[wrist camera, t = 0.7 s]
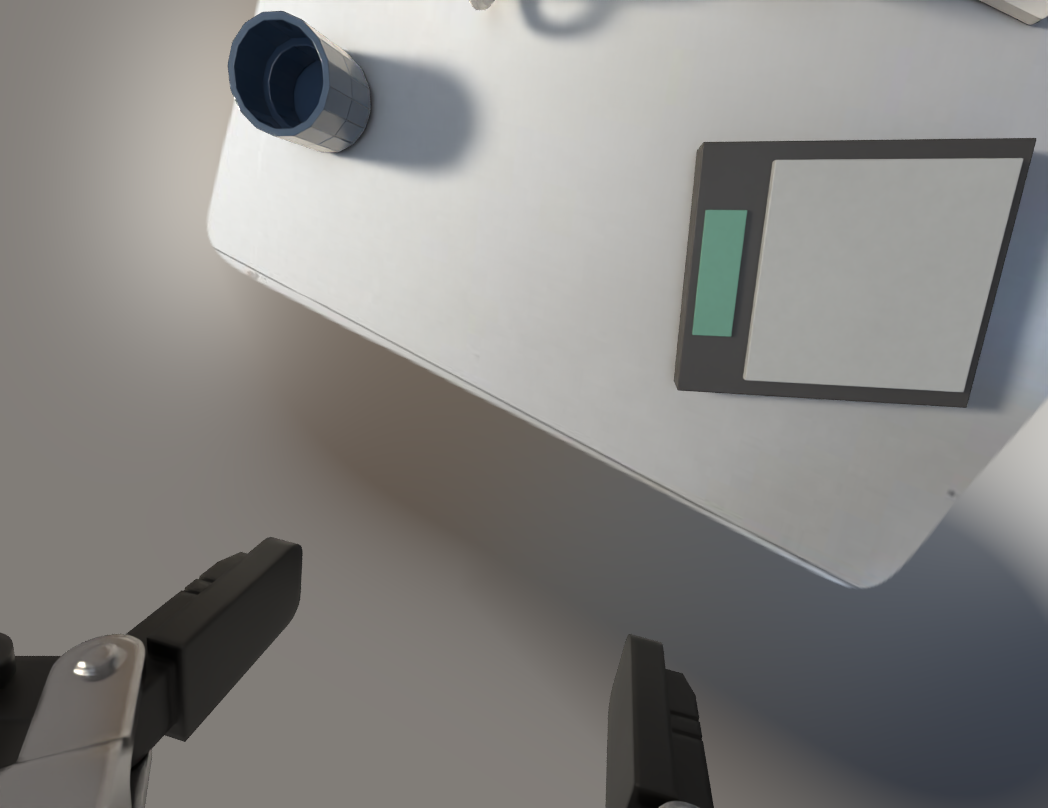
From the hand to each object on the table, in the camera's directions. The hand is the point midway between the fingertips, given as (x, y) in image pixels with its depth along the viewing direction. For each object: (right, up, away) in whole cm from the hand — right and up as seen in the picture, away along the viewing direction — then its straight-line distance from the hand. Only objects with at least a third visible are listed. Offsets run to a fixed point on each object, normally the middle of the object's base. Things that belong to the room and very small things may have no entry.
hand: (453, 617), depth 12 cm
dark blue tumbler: (-11, +24, +22) cm, 34 cm away
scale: (+20, +13, +19) cm, 30 cm away
